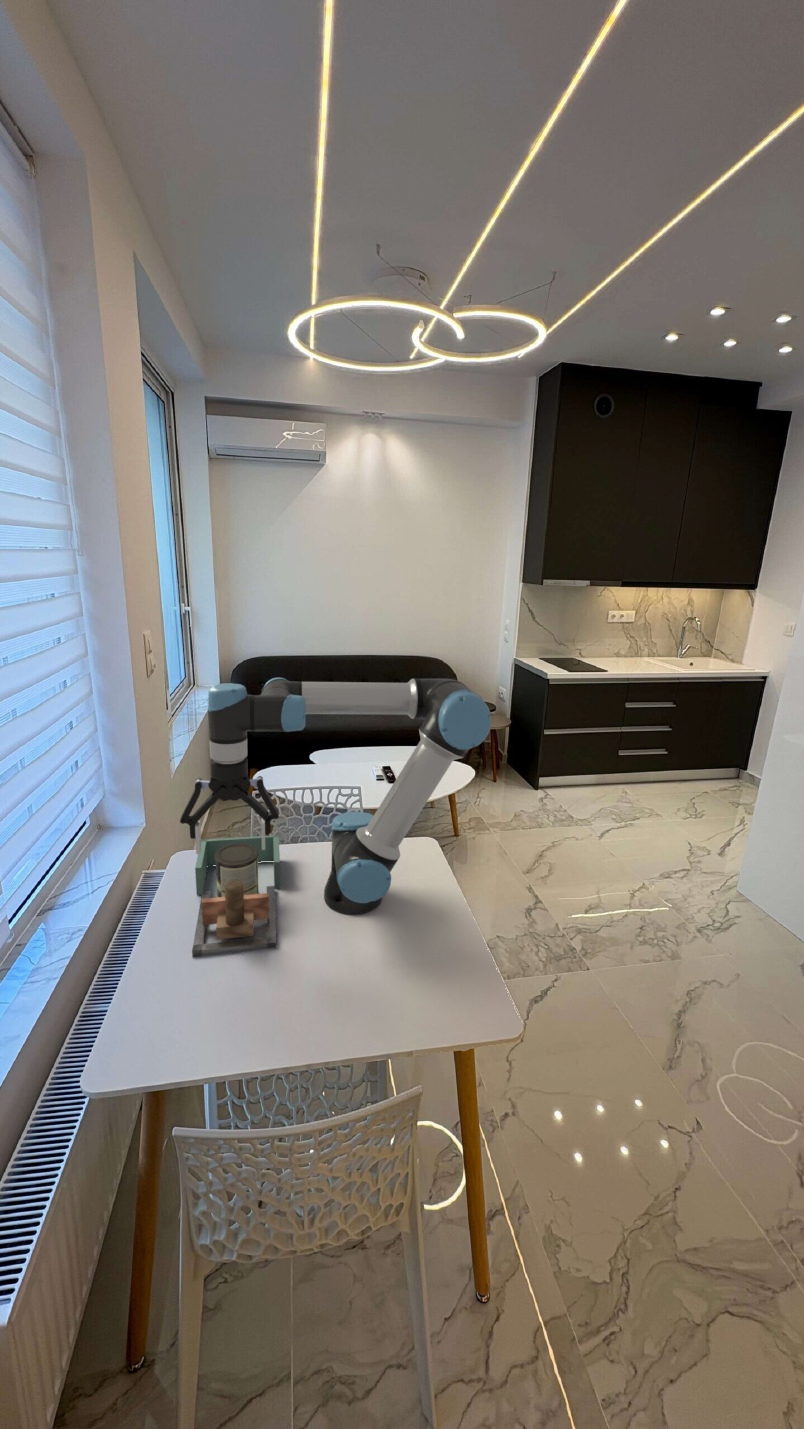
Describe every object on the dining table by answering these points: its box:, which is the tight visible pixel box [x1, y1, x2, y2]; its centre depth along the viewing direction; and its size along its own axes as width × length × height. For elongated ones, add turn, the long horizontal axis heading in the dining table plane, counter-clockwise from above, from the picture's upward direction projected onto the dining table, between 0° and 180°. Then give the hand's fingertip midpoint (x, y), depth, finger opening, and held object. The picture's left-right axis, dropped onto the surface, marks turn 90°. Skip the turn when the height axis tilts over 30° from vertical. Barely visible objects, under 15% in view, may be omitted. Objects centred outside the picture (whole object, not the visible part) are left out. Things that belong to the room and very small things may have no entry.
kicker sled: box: [202, 881, 269, 940], centre depth 134 cm, size 15×7×12 cm, turn 103°
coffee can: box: [215, 843, 260, 897], centre depth 146 cm, size 10×10×14 cm
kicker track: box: [191, 885, 277, 958], centre depth 141 cm, size 18×23×2 cm
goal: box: [194, 834, 281, 896], centre depth 158 cm, size 21×15×8 cm
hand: (231, 849), depth 128 cm, fingers open, 13 cm apart
